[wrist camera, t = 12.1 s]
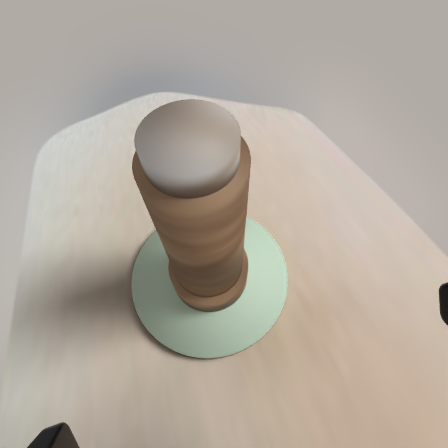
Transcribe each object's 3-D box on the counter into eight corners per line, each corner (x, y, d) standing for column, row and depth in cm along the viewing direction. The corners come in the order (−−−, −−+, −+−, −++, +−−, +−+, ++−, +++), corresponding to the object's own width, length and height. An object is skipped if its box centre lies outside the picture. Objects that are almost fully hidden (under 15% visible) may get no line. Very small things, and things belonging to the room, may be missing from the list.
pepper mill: (224, 326, 20) (217, 224, 9) (158, 289, 22) (77, 158, 10) (259, 261, 22) (288, 112, 11) (197, 231, 24) (167, 71, 12)
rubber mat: (242, 394, 19) (242, 394, 18) (101, 306, 22) (98, 304, 21) (309, 248, 23) (311, 245, 23) (186, 192, 26) (185, 188, 26)
